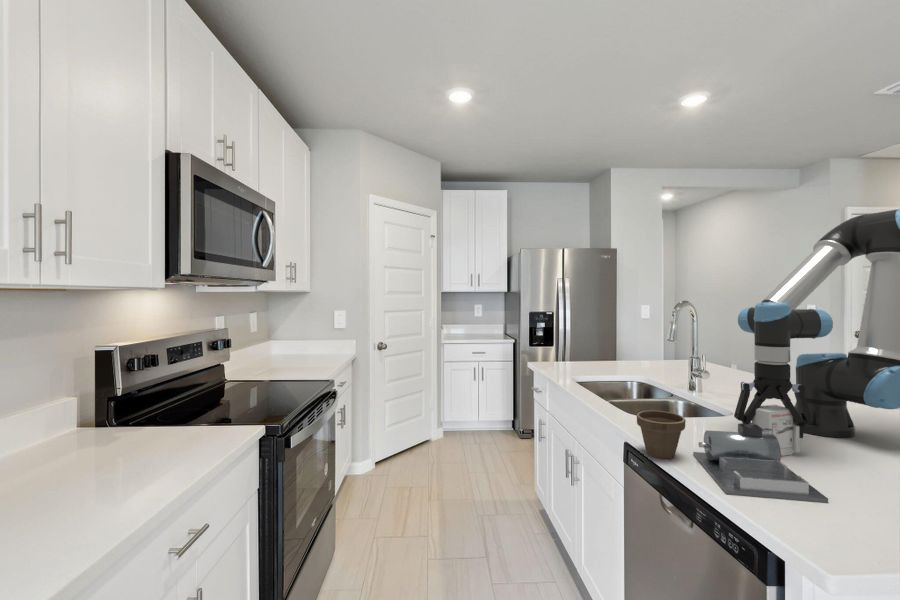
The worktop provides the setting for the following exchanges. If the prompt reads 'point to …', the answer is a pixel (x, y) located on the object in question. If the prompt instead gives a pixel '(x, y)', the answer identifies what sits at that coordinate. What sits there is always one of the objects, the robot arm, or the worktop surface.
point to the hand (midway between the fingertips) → (772, 449)
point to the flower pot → (660, 432)
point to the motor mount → (752, 465)
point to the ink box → (776, 425)
